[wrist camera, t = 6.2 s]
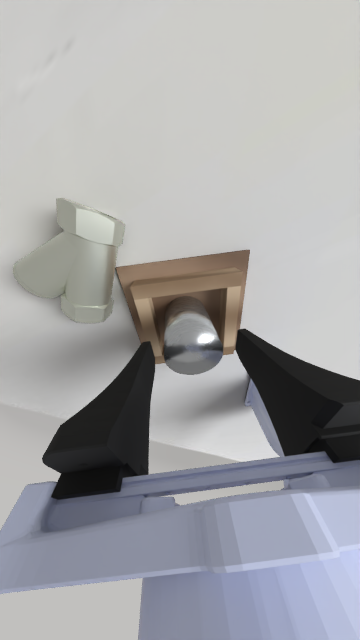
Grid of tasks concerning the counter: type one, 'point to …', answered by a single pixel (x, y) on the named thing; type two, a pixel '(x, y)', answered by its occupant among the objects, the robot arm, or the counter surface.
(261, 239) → the counter surface
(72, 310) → the pipe fitting
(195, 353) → the silver metal cylinder
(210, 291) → the cradle board
